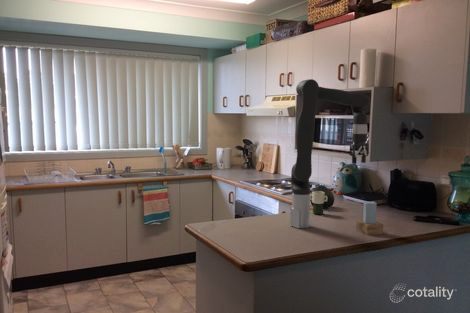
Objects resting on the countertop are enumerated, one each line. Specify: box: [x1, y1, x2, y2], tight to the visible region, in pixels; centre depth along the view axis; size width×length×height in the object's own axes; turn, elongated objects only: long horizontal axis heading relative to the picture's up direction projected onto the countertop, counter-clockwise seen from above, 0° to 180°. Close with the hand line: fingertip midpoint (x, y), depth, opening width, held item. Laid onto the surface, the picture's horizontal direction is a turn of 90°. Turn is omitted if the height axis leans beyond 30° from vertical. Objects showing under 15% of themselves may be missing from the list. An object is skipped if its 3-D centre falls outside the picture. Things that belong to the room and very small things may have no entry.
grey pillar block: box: [362, 200, 378, 224], centre depth 203 cm, size 5×5×10 cm
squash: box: [310, 184, 335, 210], centre depth 259 cm, size 14×15×15 cm
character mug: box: [310, 191, 327, 215], centre depth 241 cm, size 11×7×13 cm, turn 60°
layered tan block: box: [355, 220, 384, 236], centre depth 203 cm, size 9×9×5 cm
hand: (358, 163), depth 219 cm, fingers open, 8 cm apart
